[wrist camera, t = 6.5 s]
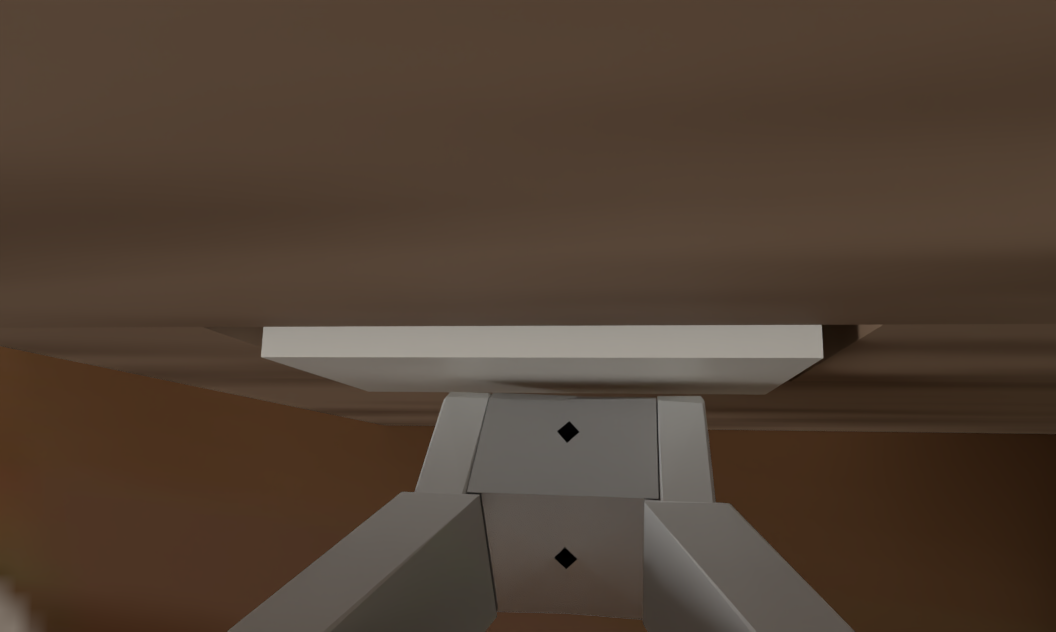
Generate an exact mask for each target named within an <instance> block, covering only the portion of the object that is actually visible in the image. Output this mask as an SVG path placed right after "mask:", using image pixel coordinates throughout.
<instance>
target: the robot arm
mask: <svg viewBox="0 0 1056 632" xmlns="http://www.w3.org/2000/svg"><path fill="white" fill-rule="evenodd" d="M496 612H527V613H565V614H579V615H592V616H604V617H616V618H629V619H641V620H643V624H644V626H645V628H646V629H647V631H648V632H855V631H854V630H853V629H852V628H851V627H850V626H849V625H848V624H847V623H846V622H845V621H844V620H843V619H842V618H841V617H840V616H839V615H838V614H837V613H836V612H835V611H834V610H833V609H832V608H831V607H830V606H829V605H828V604H827V603H826V601H825V600H824V599H823V598H822V597H821V596H820V595H819V594H818V593H817V592H816V591H815V590H814V589H813V588H812V587H811V586H810V585H809V584H808V583H807V582H806V581H805V580H804V579H803V578H802V577H801V576H800V575H799V574H798V573H797V572H796V571H795V570H794V569H793V568H792V567H791V566H790V565H789V564H788V562H787V561H786V560H785V559H784V558H783V557H782V556H781V555H780V554H779V553H778V552H777V551H776V550H775V549H774V548H773V547H772V546H771V545H770V544H769V543H768V542H767V541H766V540H765V539H764V538H763V537H762V536H761V535H760V534H759V533H758V532H757V531H756V530H755V529H754V528H753V527H752V526H751V525H750V524H749V522H748V521H747V520H746V519H745V518H744V517H743V516H742V515H741V514H740V513H739V512H738V511H737V510H736V509H735V508H734V507H733V506H732V505H731V504H729V503H716V500H715V491H714V482H713V473H712V464H711V455H710V446H709V437H708V428H707V418H706V409H705V401H704V400H703V398H702V397H701V396H657V400H656V398H655V397H595V396H564V395H539V394H514V393H493V394H490V393H473V392H450V393H449V394H448V395H447V396H446V398H445V399H444V400H443V403H442V406H441V410H440V413H439V416H438V419H437V422H436V425H435V429H434V432H433V435H432V438H431V441H430V444H429V448H428V451H427V454H426V457H425V460H424V463H423V467H422V470H421V473H420V476H419V479H418V482H417V486H416V489H415V492H401V493H400V494H398V495H397V496H396V497H395V498H393V499H392V500H391V501H390V502H388V503H387V504H386V505H385V506H383V507H382V508H381V509H380V510H378V511H377V512H376V513H375V514H373V515H372V516H371V517H370V518H368V519H367V520H366V521H365V522H363V523H362V524H361V525H360V526H358V527H357V528H356V529H355V530H353V531H352V532H351V533H350V534H348V535H347V536H346V537H345V538H343V539H342V540H341V541H340V542H338V543H337V544H336V545H335V546H333V547H332V548H331V549H330V550H328V551H327V552H326V553H325V554H323V555H322V556H321V557H320V558H318V559H317V560H316V561H315V562H313V563H312V564H311V565H310V566H308V567H307V568H306V569H305V570H303V571H302V572H301V573H300V574H298V575H297V576H296V577H295V578H293V579H292V580H291V581H290V582H288V583H287V584H286V585H285V586H283V587H282V588H281V589H280V590H278V591H277V592H276V593H274V594H273V595H272V596H271V597H269V598H268V599H267V600H266V601H264V602H263V603H262V604H261V605H259V606H258V607H257V608H256V609H254V610H253V611H252V612H251V613H249V614H248V615H247V616H246V617H244V618H243V619H242V620H241V621H239V622H238V623H237V624H236V625H234V626H233V627H232V628H231V629H229V630H228V632H485V631H486V630H487V628H488V627H489V626H490V625H491V623H492V622H493V621H494V620H495V618H496V617H497V613H496Z"/></svg>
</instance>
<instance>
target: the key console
mask: <svg viewBox="0 0 1056 632" xmlns="http://www.w3.org/2000/svg"><path fill="white" fill-rule="evenodd" d="M623 325H822V340H823V359H821V360H819V361H818V362H816V363H815V364H813V365H812V366H810V367H808V368H807V369H805V370H804V371H802V372H800V373H799V374H797V375H796V376H794V377H793V378H791V379H789V380H788V381H786V382H785V383H783V384H781V385H780V386H778V387H777V388H775V389H774V390H772V391H770V392H769V393H767V394H766V395H748V394H614V393H514V394H539V395H564V396H595V397H655V398H656V400H657V396H701V397H702V398H703V400H704V401H705V409H706V418H707V428H708V429H709V430H785V431H861V432H937V433H1013V434H1056V0H0V346H3V347H7V348H12V349H17V350H22V351H27V352H32V353H36V354H41V355H46V356H51V357H56V358H61V359H65V360H70V361H75V362H80V363H85V364H90V365H95V366H99V367H104V368H109V369H114V370H119V371H124V372H128V373H133V374H138V375H143V376H148V377H153V378H157V379H162V380H167V381H172V382H177V383H182V384H186V385H191V386H196V387H201V388H206V389H211V390H216V391H220V392H225V393H230V394H235V395H240V396H245V397H249V398H254V399H259V400H264V401H269V402H274V403H278V404H283V405H288V406H293V407H298V408H303V409H307V410H312V411H317V412H322V413H327V414H332V415H337V416H341V417H346V418H351V419H356V420H361V421H366V422H370V423H375V424H380V425H405V426H435V425H436V422H437V419H438V416H439V413H440V410H441V406H442V403H443V400H444V399H445V398H446V396H447V395H448V394H449V393H450V392H368V391H365V390H362V389H359V388H356V387H352V386H349V385H346V384H343V383H340V382H337V381H334V380H331V379H328V378H324V377H321V376H318V375H315V374H312V373H309V372H306V371H303V370H300V369H296V368H293V367H290V366H287V365H284V364H281V363H278V362H275V361H271V360H268V359H265V358H262V357H261V350H262V338H263V327H346V326H623ZM473 393H481V392H473ZM490 394H493V393H490Z"/></svg>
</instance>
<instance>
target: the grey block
mask: <svg viewBox="0 0 1056 632" xmlns="http://www.w3.org/2000/svg"><path fill="white" fill-rule="evenodd" d="M261 357H262V358H265V359H268V360H271V361H275V362H278V363H281V364H284V365H287V366H290V367H293V368H296V369H300V370H303V371H306V372H309V373H312V374H315V375H318V376H321V377H324V378H328V379H331V380H334V381H337V382H340V383H343V384H346V385H349V386H352V387H356V388H359V389H362V390H365V391H368V392H481V393H614V394H748V395H766V394H767V393H769V392H770V391H772V390H774V389H775V388H777V387H778V386H780V385H781V384H783V383H785V382H786V381H788V380H789V379H791V378H793V377H794V376H796V375H797V374H799V373H800V372H802V371H804V370H805V369H807V368H808V367H810V366H812V365H813V364H815V363H816V362H818V361H819V360H821V359H823V340H822V325H623V326H346V327H263V338H262V350H261Z"/></svg>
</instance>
